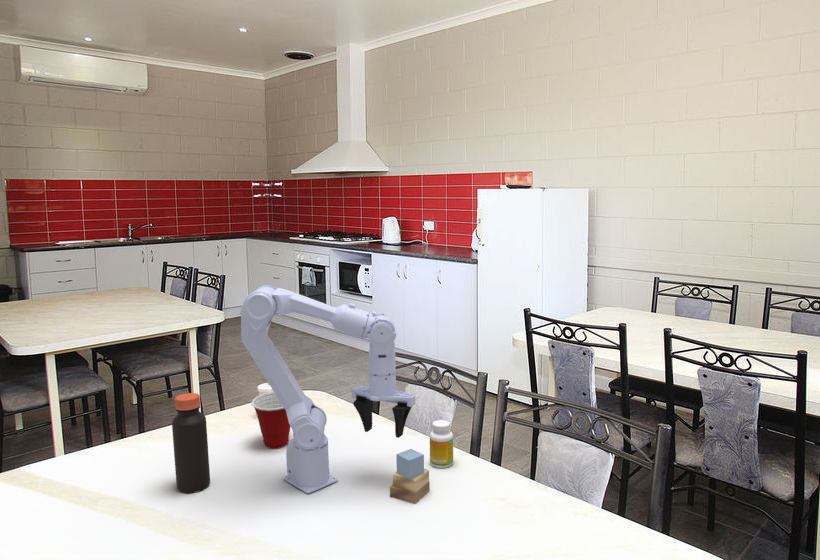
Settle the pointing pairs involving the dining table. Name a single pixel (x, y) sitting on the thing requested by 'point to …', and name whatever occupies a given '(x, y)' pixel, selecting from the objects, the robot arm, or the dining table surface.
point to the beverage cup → (264, 388)
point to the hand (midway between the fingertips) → (383, 433)
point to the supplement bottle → (441, 444)
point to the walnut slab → (409, 493)
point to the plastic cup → (272, 420)
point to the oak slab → (411, 481)
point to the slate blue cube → (410, 463)
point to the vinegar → (190, 445)
